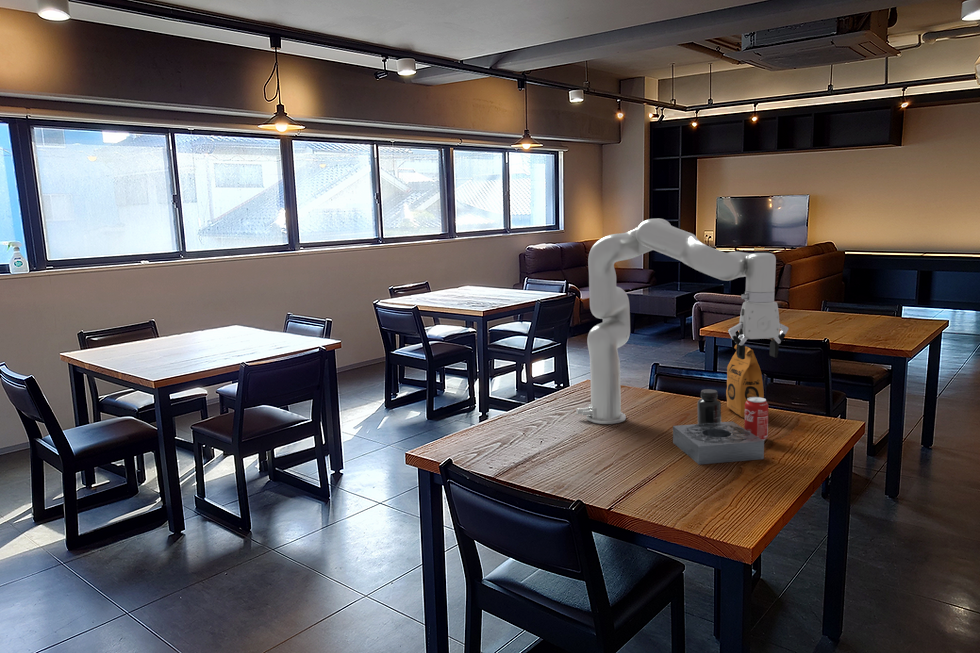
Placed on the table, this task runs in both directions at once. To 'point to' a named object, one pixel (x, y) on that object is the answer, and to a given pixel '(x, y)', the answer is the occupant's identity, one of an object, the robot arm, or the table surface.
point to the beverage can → (756, 417)
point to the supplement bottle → (709, 407)
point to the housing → (718, 442)
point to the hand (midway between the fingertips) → (757, 357)
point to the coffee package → (743, 381)
